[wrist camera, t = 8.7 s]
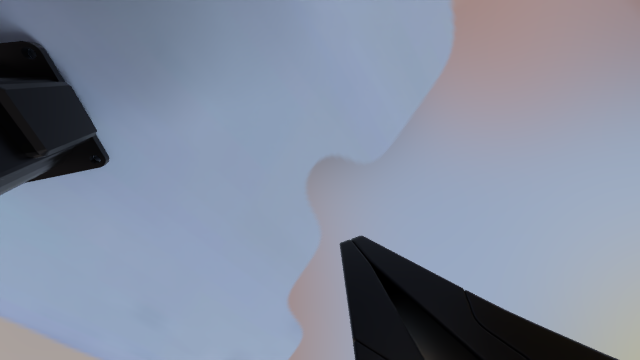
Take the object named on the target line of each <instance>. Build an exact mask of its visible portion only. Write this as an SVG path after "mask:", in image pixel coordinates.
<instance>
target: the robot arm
mask: <svg viewBox="0 0 640 360" xmlns="http://www.w3.org/2000/svg"><path fill="white" fill-rule="evenodd" d="M29 49H32V50H33V51H34V52H35V53H36V58H35V59H33V58H31V56H30V55H29V54H28V50H29ZM96 132H97V130H96V128H95V126H94V125H93V123H92V121H91V119H90V118H89V116H88V114H87V113H86V111H85V109H84V107H83V106H82V104H81V102H80V101H79V99H78V97H77V95H76V94H75V92H74V90H73V89H72V87H71V86H70V85H68V84H67V83H65V81H64V80H63V78H62V76H61V75H60V73H59V71H58V70H57V68H56V66H55V65H54V63H53V61H52V59H51V58H50V56H49V54H48V53H47V51H46V50H45V49H44V48H43V47H41V46H40V45H38V44H35V43H32V42H24V41H19V42H8V43H0V195H1V194H3V193H5V192H7V191H9V190H11V189H13V188H15V187H17V186H19V185H21V184H23V183H26V182H31V181H36V180H41V179H46V178H51V177H55V176H60V175H65V174H70V173H75V172H80V171H85V170H90V169H95V168H99V167H102V166H104V165H106V164H107V163H108V162H109V156H108V154H107V153H106V151H105V149H104V148H103V146H102V144H101V142H100V141H99V139H98V137H97V136H96ZM93 156H98V157H99V158H100V160H101V161H96V160H95V159H94V158H93ZM340 249H341V257H342V265H343V271H344V279H345V287H346V294H347V301H348V308H349V316H350V323H351V330H352V338H353V346H354V354H355V360H618V359H616V358H613V357H611V356H609V355H606V354H604V353H601V352H599V351H597V350H595V349H592V348H590V347H588V346H585V345H583V344H581V343H579V342H576V341H574V340H572V339H569V338H567V337H565V336H563V335H560V334H558V333H555V332H553V331H551V330H549V329H546V328H544V327H542V326H540V325H538V324H535V323H533V322H531V321H529V320H526V319H524V318H522V317H520V316H518V315H515V314H513V313H511V312H509V311H507V310H504V309H503V308H501V307H499V306H496V305H495V304H493V303H491V302H489V301H486V300H485V299H482V298H481V297H479V296H477V295H475V294H473V293H471V292H469V291H467V290H465V291H464V289H463V288H461V287H459V286H457V285H455V284H454V283H452V282H450V281H448V280H446V279H444V278H442V277H440V276H438V275H436V274H434V273H433V272H431V271H429V270H427V269H425V268H423V267H421V266H419V265H417V264H415V263H413V262H412V261H410V260H408V259H406V258H404V257H402V256H400V255H398V254H396V253H394V252H392V251H391V250H389V249H387V248H385V247H383V246H381V245H379V244H377V243H375V242H373V241H371V240H369V239H368V238H366V237H364V236H358V237H356V238H353V239H351V240H347V241H344V242H341V243H340Z"/></svg>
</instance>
